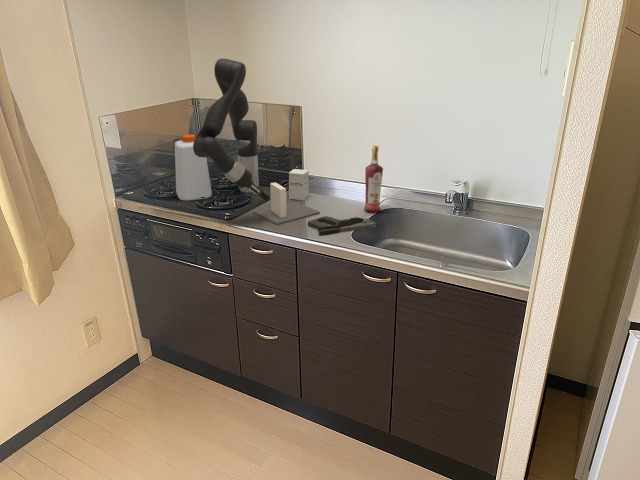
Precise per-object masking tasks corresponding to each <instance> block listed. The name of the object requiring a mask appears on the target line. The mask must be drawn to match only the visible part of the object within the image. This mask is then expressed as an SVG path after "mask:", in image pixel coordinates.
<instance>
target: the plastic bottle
mask: <svg viewBox="0 0 640 480" xmlns="http://www.w3.org/2000/svg"><path fill="white" fill-rule="evenodd" d="M196 136H197V135H196V134H184V135H183V134H182V136H181V140H177V141H175V142H174V161H175V163H174V165H175V190H176V191H175V192H176V195H177V197H178V199H179V200H181V201H185V202H189V201H197V200H205V199H209V198H211V197H212V195H213V192H212V187H211V180H210V172H209V166H208V160H207V157H198V156H197V155H196V154H195V153H194V151H193V143H194V140H195V138H196ZM201 197H205V198H201Z"/></svg>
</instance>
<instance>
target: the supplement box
mask: <svg viewBox="0 0 640 480" xmlns="http://www.w3.org/2000/svg"><path fill="white" fill-rule="evenodd" d="M309 171H310V170H309V169H300V168H299V169H297V168H293V169H292V170H291V171H289V173H288V198H289V200H296V201H297V200H298V201H305V200H306V199H307V198H308V197H309V185H310V183H309V179H310V177H309V176H310V175H309V174H310V173H309Z"/></svg>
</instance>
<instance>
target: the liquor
mask: <svg viewBox="0 0 640 480" xmlns="http://www.w3.org/2000/svg"><path fill="white" fill-rule="evenodd" d="M379 149H380V148H379V146H378V145H372V146H371V153H372V154H371V162H370V164H369V165H367V166H366V167H365V168H364V170H365V173H364V174H365V177H364V178H365V179H364V181H365V205H364V207H363V209H364V210H365V211H366V212H368V213H373V214H375V213H377V212H378V211H380V209H381V207H380V204H381V203H380V200H381V191H382V190H381V189H382V184H383V183H382V182H383V173H384V168H383V166H381V165H379Z"/></svg>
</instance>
